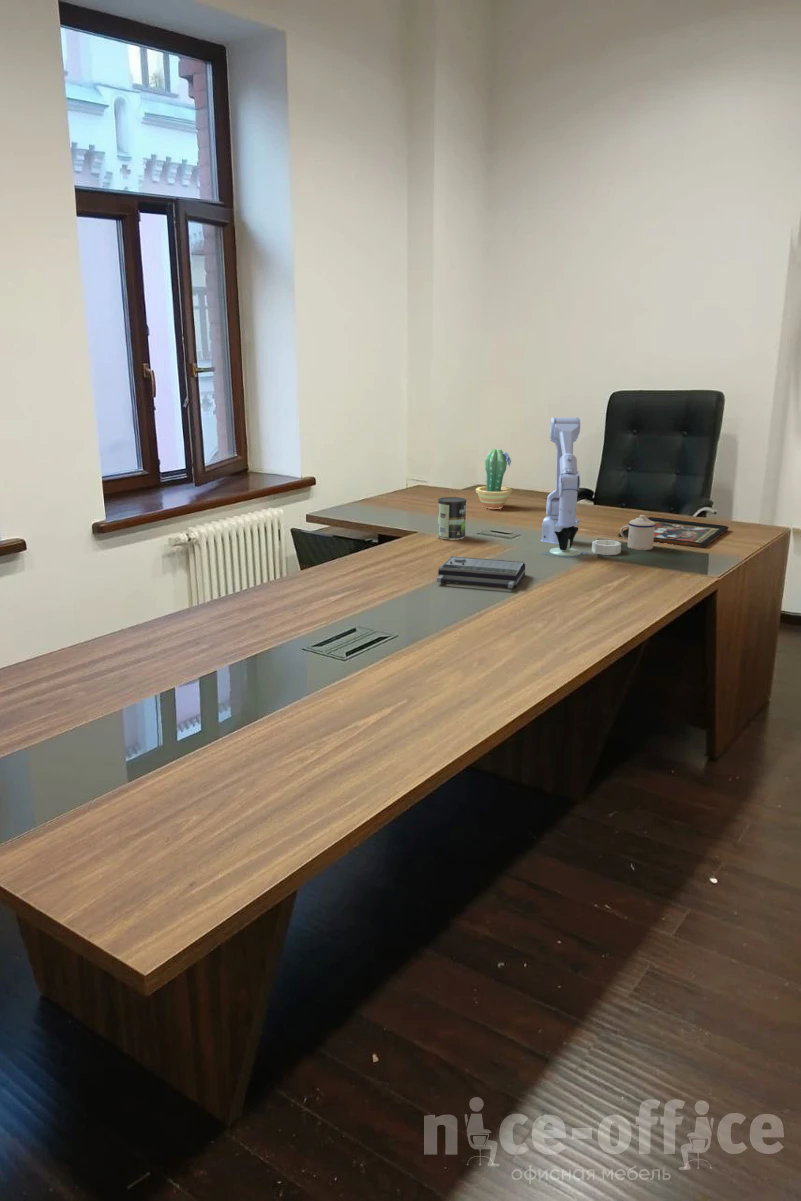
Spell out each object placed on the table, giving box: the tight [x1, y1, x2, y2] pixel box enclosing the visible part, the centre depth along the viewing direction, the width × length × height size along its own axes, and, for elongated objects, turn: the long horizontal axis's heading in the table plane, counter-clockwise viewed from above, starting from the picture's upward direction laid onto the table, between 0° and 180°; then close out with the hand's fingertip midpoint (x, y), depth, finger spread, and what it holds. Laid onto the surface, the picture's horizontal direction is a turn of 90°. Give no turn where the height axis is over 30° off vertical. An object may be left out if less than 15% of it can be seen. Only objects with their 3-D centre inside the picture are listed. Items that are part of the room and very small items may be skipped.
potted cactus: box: [475, 448, 513, 508], centre depth 379 cm, size 15×15×25 cm
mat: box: [541, 550, 590, 560], centre depth 304 cm, size 12×12×1 cm
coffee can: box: [437, 496, 467, 539], centre depth 326 cm, size 10×10×14 cm
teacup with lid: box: [619, 514, 655, 551], centre depth 313 cm, size 12×9×12 cm
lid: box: [549, 539, 581, 558], centre depth 303 cm, size 10×10×5 cm
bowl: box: [591, 539, 622, 556], centre depth 306 cm, size 9×9×4 cm
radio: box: [436, 556, 526, 589], centre depth 273 cm, size 24×5×20 cm
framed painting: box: [618, 516, 729, 549], centre depth 335 cm, size 38×35×3 cm
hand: (565, 549), depth 303 cm, fingers closed on lid, 3 cm apart
